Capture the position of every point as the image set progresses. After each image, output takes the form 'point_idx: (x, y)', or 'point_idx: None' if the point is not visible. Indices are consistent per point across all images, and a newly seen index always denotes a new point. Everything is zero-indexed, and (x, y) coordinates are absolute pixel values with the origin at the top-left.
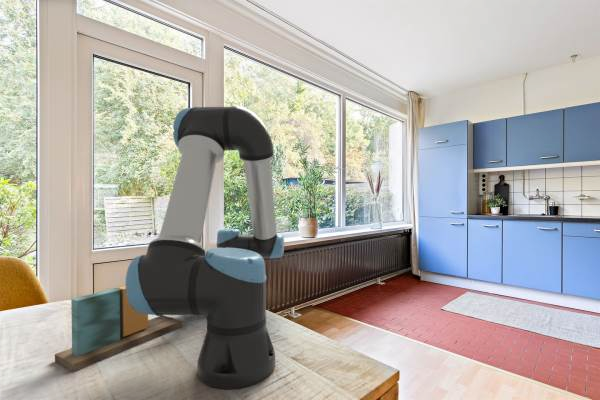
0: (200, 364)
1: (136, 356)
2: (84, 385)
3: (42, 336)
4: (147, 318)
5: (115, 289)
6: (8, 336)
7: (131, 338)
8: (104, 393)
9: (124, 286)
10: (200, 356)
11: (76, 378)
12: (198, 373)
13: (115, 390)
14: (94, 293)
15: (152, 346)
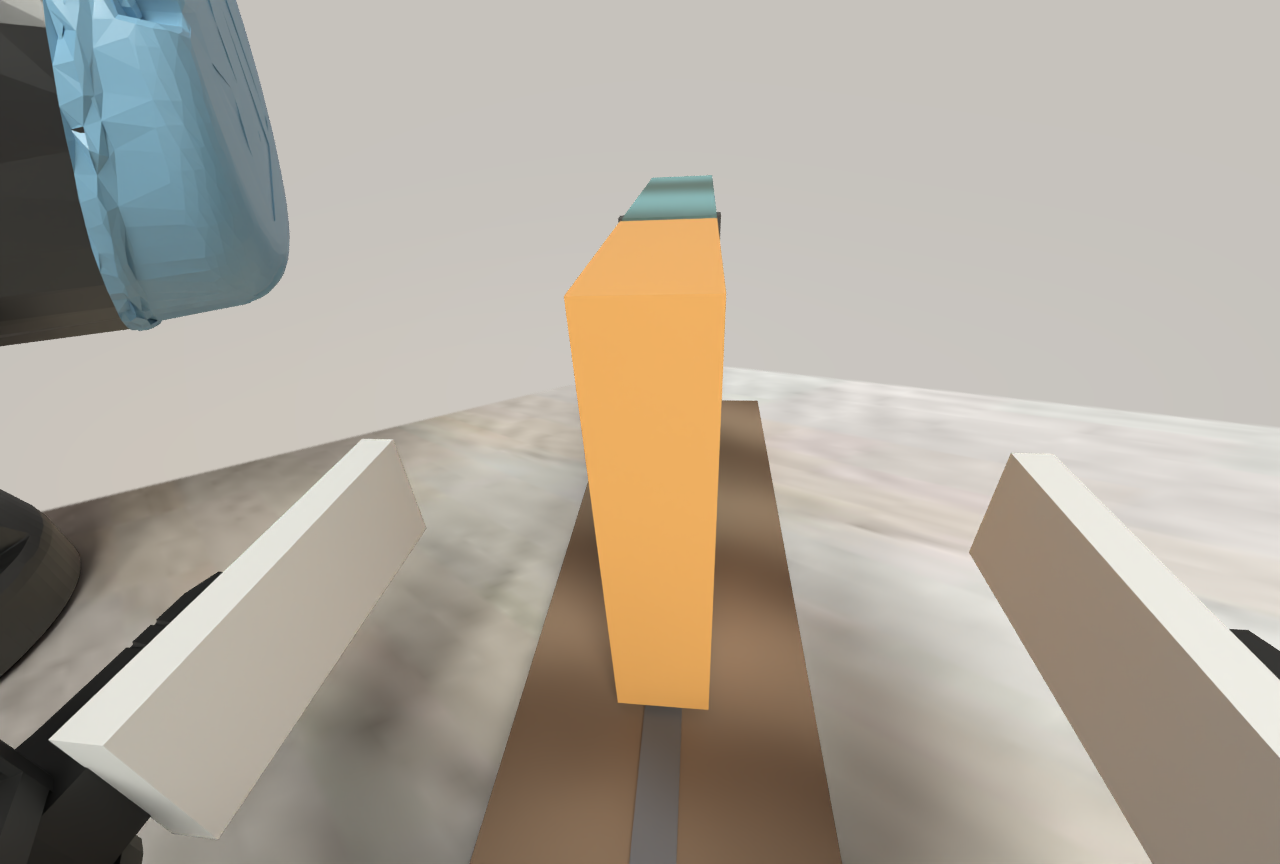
0: (26, 503)
1: (478, 549)
2: (514, 417)
3: (1153, 477)
4: (611, 645)
5: (677, 212)
6: (1252, 429)
7: (593, 564)
8: (422, 422)
9: (702, 230)
10: (7, 500)
11: (574, 421)
12: (70, 544)
13: (398, 434)
14: (712, 190)
15: (463, 644)
